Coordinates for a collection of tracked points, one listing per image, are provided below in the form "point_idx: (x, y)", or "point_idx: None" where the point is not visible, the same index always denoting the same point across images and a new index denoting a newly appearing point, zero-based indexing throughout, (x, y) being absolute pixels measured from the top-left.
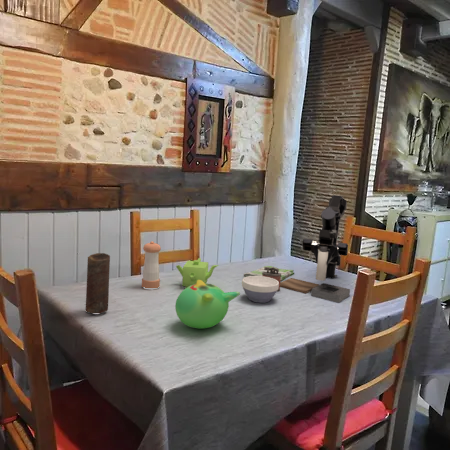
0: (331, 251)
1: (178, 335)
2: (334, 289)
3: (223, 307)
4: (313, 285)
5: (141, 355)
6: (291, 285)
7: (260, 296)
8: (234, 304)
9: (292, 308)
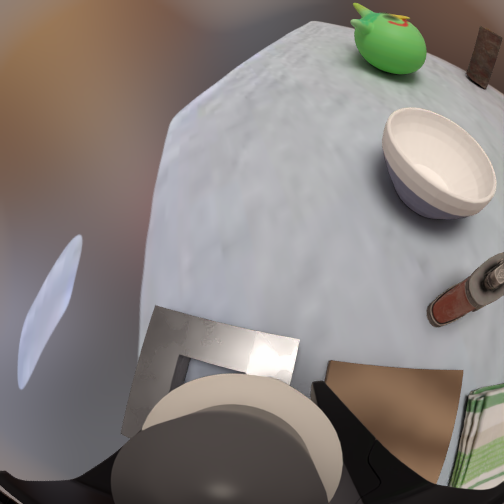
0: (98, 494)
1: None
2: None
3: (355, 30)
4: None
5: None
6: (412, 401)
7: (402, 139)
8: None
9: (311, 168)
